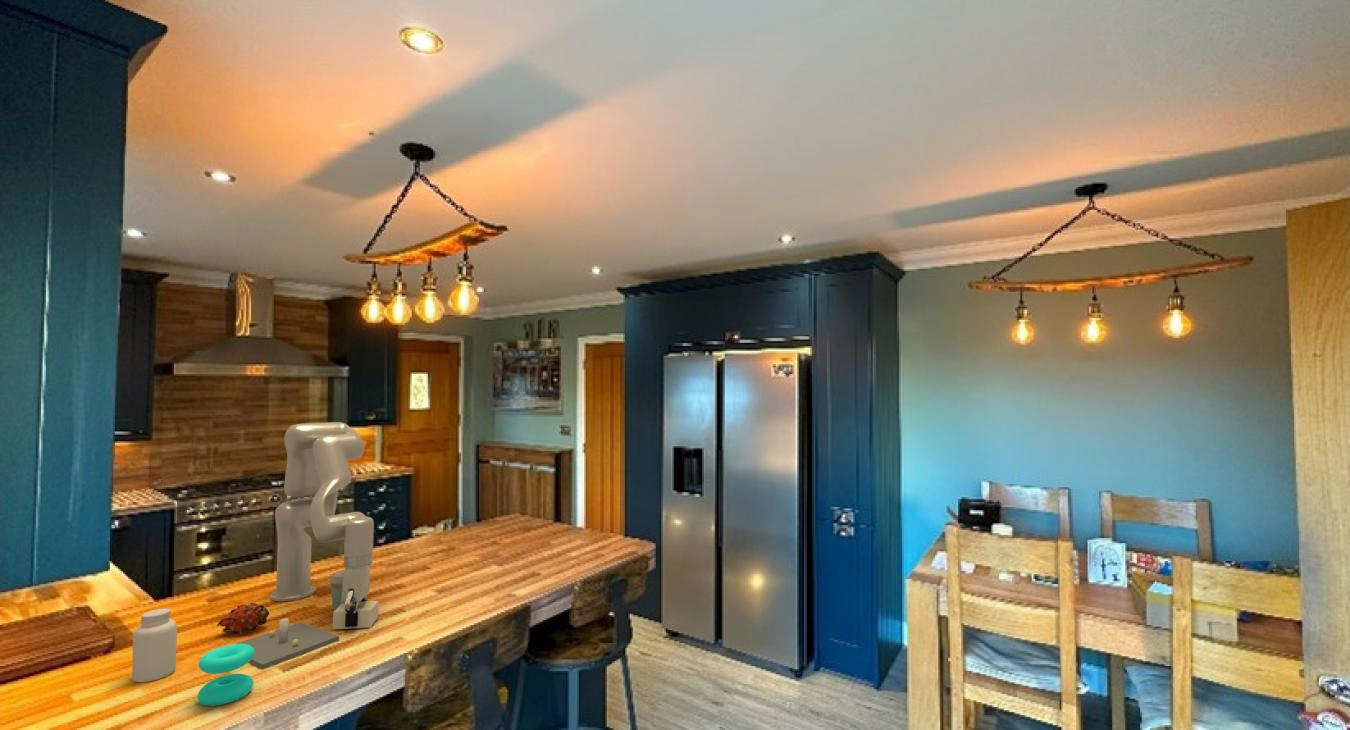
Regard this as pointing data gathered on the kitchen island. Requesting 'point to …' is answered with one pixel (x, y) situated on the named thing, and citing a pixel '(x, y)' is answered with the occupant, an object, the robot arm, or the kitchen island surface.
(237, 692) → the donuts
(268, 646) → the pin plate
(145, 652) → the pill bottle
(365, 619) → the flange block
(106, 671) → the kitchen island surface
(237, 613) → the dragon fruit
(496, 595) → the kitchen island surface
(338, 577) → the coffee cup
